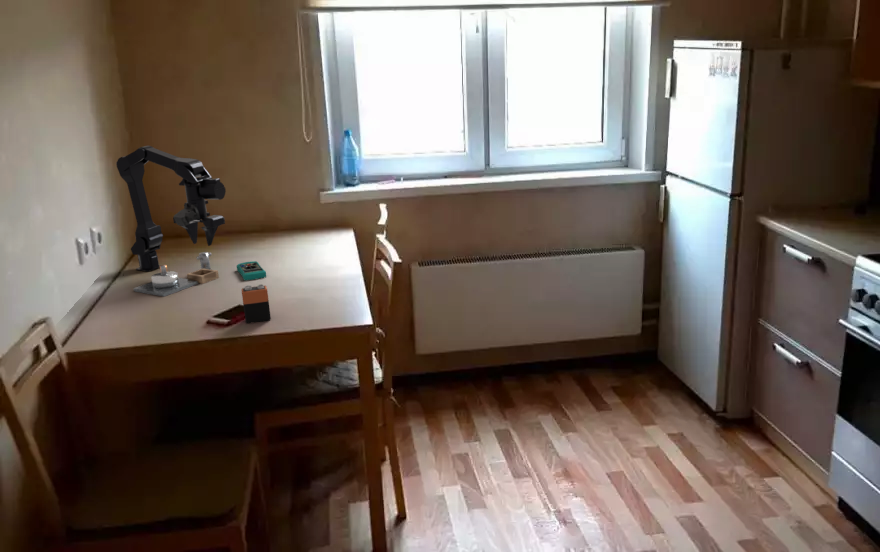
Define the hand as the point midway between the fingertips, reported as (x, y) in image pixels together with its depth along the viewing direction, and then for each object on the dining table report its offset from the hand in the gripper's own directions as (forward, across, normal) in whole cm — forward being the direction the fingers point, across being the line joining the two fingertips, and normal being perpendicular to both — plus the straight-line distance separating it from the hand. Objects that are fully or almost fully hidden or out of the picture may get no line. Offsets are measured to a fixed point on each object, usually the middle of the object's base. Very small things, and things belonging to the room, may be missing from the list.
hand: (202, 244), depth 261 cm
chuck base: (+10, 0, -17) cm, 20 cm away
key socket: (+10, +5, -6) cm, 13 cm away
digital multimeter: (+11, +16, +5) cm, 20 cm away
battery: (+10, +50, -28) cm, 58 cm away
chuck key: (+10, 0, 0) cm, 10 cm away
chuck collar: (+9, -3, -15) cm, 17 cm away
